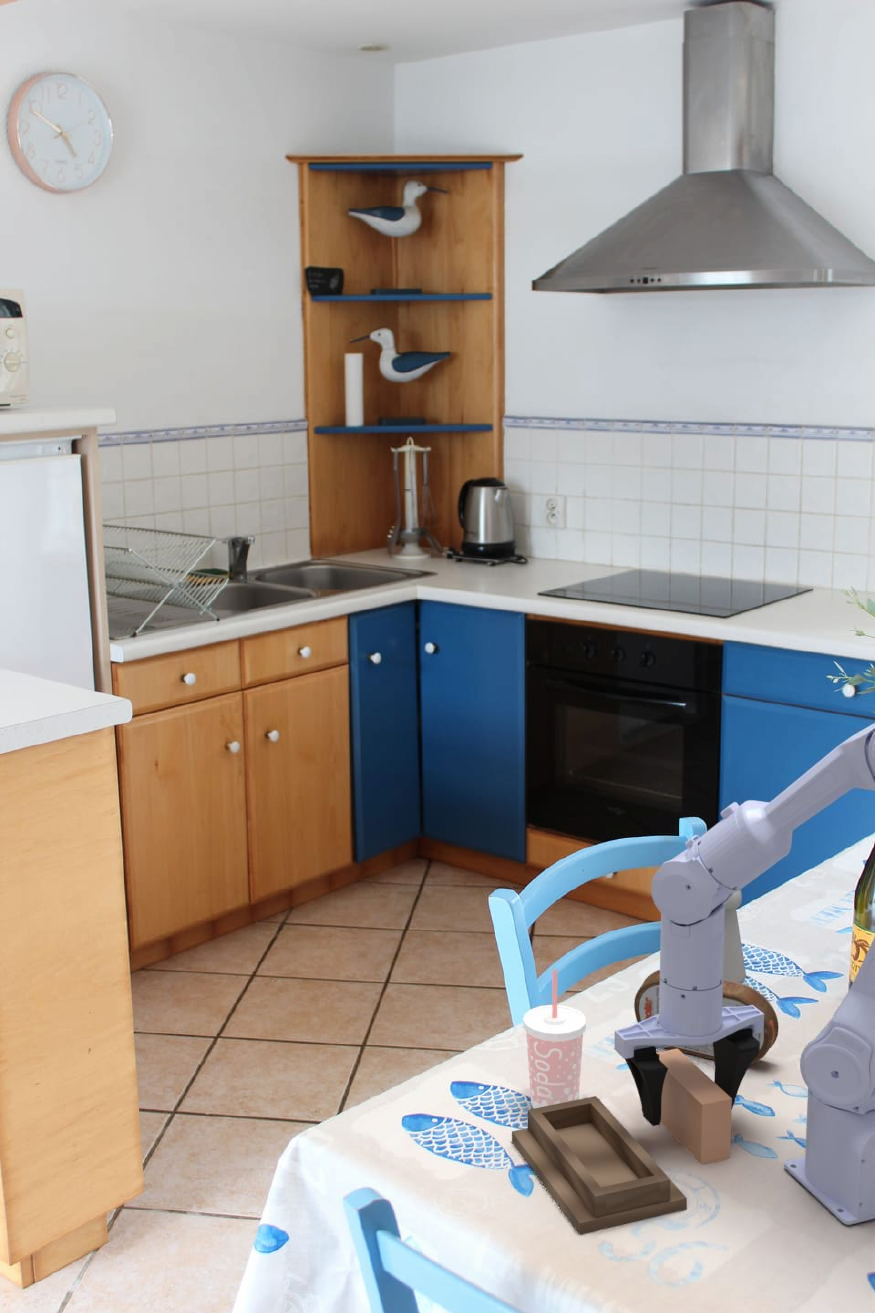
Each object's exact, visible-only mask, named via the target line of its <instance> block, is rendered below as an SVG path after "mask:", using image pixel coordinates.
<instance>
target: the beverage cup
mask: <svg viewBox="0 0 875 1313" xmlns="http://www.w3.org/2000/svg"><path fill="white" fill-rule="evenodd" d="M551 975H552V977H551V978H552V980H551V981H552V982H551V983H552V984H551V985H552V989H551V990H552V991H551V992H552V993H551V995H552V997H551V998H552V999H551V1000H552V1002H551V1003H552V1004H547V1005H539V1006H536V1007H534V1008H530V1009H528V1011H527V1012H525V1013H524V1015H523V1019H522V1021H523V1022H522V1023H523V1029H524V1031H525V1033H526V1045H527V1063H528V1075H529V1090H530V1104H531V1106H532V1109H534V1108H539V1107H544V1106H549V1105H554V1104H559V1103H564V1102H569V1101H574V1100H579V1097H580V1082H581V1070H582V1068H581V1067H582V1056H583V1041H584V1040H583V1038H584V1033H585V1032H586V1028H587V1017H586V1016H585V1014H584V1012H582V1011H580V1010H578V1009H576V1008H574V1007H572V1006H571V1007H570V1006H567V1005H563V1004H562V1005H561V1004H558V969H552V971H551Z"/></svg>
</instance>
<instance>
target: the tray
mask: <svg viewBox="0 0 875 1313" xmlns="http://www.w3.org/2000/svg"><path fill="white" fill-rule="evenodd" d="M511 1142H512V1144H513V1145H514V1146H515V1148H516V1149H517V1150H518V1151H519V1153H520V1154H521V1156H522V1157H523V1158H524V1159H525V1161H526V1163H527V1164H528V1165H529V1166H530V1167H531V1170H532V1171H533V1172H534V1173H535V1174H536V1176H537V1177H538V1179H539V1180H540V1182H541V1183H542V1185H543V1186H544V1187H545V1189H546V1190H547V1191H548V1193H549V1194H550V1195H551V1197H552V1198H553V1200H554V1201H555V1202H556V1203H557V1205H558V1206H559V1207H560V1209H561V1210H562V1211H563V1213H564V1215H565V1216H566V1217H567V1219H568V1220H569V1221H570V1223H571V1224H572V1226H573V1227H574V1228H575V1230H576V1231H577V1232H578V1235H582V1234H586V1233H590V1232H595V1231H598V1230H602V1229H607V1228H611V1227H615V1226H620V1225H623V1224H628V1223H633V1222H637V1221H641V1220H645V1219H646V1220H647V1219H650V1218H653V1217H657V1216H663V1215H665V1214H670V1213H675V1212H679V1211H683V1210H687V1208H688V1198H687V1196H686V1195H685V1194H684V1193H683V1192H682V1191H681V1190H680V1189H679V1188H678V1187H677V1185H676V1184H675V1183H674V1182H673V1181H672V1180H671V1178H670V1177H669V1176H668V1175H667V1174H666V1172H664V1170H663V1169H662V1168H661V1167H660V1166H659V1165H658V1163H656V1161H655V1160H653V1157H651V1156H650V1155H649V1154H648V1153H647V1151H646V1150H645V1149H644V1148H643V1147H642V1146H641V1145H640V1144H639V1142H638V1141H637V1140H636V1139H635V1138H634V1137H633V1135H631V1133H630V1132H629V1131H628V1130H627V1129H626V1128H625V1127H624V1125H623V1124H622V1123H620V1121H619V1120H618V1119H617V1118H616V1117H615V1116H614V1114H613V1113H612V1112H611V1111H610V1110H609V1109H608V1108H607V1107H606V1106H605V1104H604V1103H602V1101H601V1100H600V1099H599V1097H597V1095H594V1096H589V1097H585V1098H580V1099H579V1100H574V1101H569V1102H564V1103H559V1104H554V1105H549V1106H544V1107H539V1108H528V1109H527V1128H521V1129H517V1130H512V1131H511Z"/></svg>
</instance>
